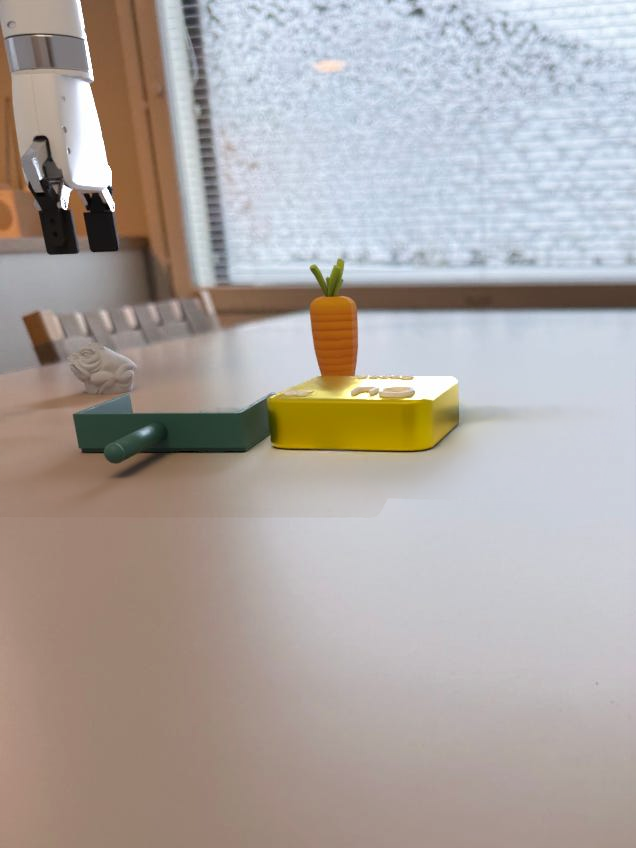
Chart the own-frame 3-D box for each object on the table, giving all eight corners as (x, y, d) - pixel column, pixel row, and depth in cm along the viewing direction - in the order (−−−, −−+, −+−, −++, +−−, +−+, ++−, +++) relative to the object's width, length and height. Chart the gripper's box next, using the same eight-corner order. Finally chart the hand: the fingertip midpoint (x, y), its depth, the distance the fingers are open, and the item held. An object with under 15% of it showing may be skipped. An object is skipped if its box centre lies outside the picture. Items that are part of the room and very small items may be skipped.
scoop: (131, 428, 94) (125, 393, 93) (278, 427, 93) (275, 392, 92) (23, 479, 75) (14, 436, 74) (207, 479, 74) (201, 435, 72)
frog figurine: (75, 406, 108) (63, 341, 105) (140, 401, 110) (130, 338, 107) (78, 414, 102) (66, 347, 100) (146, 409, 105) (136, 343, 102)
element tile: (463, 420, 95) (462, 371, 93) (429, 452, 81) (427, 395, 79) (319, 418, 97) (315, 370, 96) (263, 449, 84) (257, 393, 82)
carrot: (318, 411, 102) (306, 259, 96) (316, 403, 106) (304, 258, 100) (365, 408, 103) (355, 258, 97) (361, 401, 107) (351, 257, 101)
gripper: (55, 78, 101) (87, 252, 108) (-37, 51, 85) (8, 256, 92) (123, 74, 101) (151, 249, 108) (44, 46, 85) (83, 253, 92)
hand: (85, 252), depth 100 cm, fingers open, 9 cm apart
